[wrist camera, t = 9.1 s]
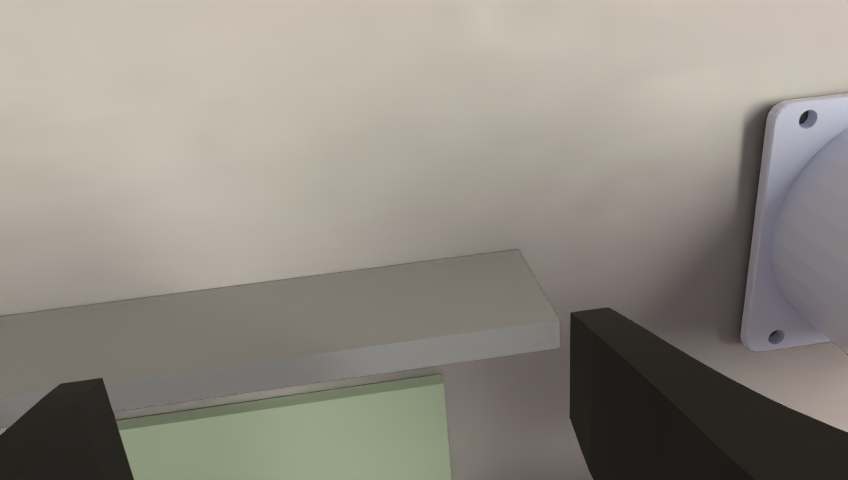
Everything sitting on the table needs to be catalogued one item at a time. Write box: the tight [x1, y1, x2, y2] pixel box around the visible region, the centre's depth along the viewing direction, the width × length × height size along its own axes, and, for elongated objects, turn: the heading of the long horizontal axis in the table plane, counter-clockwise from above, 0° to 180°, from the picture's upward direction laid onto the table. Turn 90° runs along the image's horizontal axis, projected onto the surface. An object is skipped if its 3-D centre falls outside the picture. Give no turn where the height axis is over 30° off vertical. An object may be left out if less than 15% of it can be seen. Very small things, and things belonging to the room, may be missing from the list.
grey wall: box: [0, 249, 560, 428], centre depth 19 cm, size 16×1×4 cm, turn 94°
